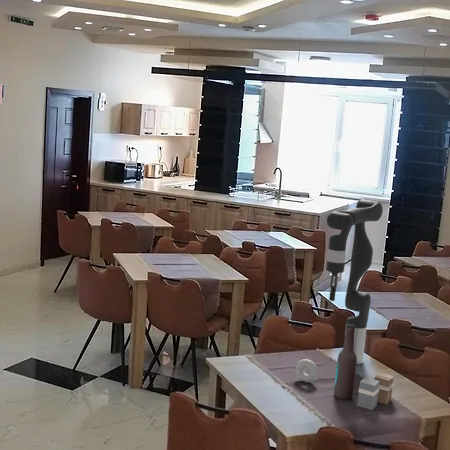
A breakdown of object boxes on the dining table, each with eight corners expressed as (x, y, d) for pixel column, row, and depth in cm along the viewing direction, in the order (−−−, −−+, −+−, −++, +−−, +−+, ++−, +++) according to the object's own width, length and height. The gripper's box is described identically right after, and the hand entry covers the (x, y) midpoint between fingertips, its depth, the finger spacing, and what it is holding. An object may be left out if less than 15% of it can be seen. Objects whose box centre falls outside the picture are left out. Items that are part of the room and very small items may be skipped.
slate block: (362, 400, 272) (364, 377, 270) (377, 405, 269) (379, 381, 267) (356, 405, 267) (359, 381, 265) (372, 410, 264) (374, 385, 262)
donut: (293, 380, 288) (295, 357, 287) (296, 377, 291) (299, 355, 290) (314, 386, 283) (316, 363, 282) (318, 383, 286) (320, 361, 284)
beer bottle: (339, 391, 280) (346, 320, 275) (356, 396, 276) (363, 325, 271) (330, 396, 274) (337, 324, 270) (347, 402, 270) (354, 329, 265)
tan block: (376, 395, 278) (379, 372, 277) (391, 399, 275) (394, 376, 274) (371, 400, 273) (374, 376, 271) (386, 404, 270) (389, 380, 268)
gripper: (344, 264, 276) (340, 305, 279) (345, 258, 289) (341, 297, 292) (326, 262, 277) (322, 303, 280) (327, 256, 290) (323, 295, 293)
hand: (331, 300), depth 286 cm, fingers closed
